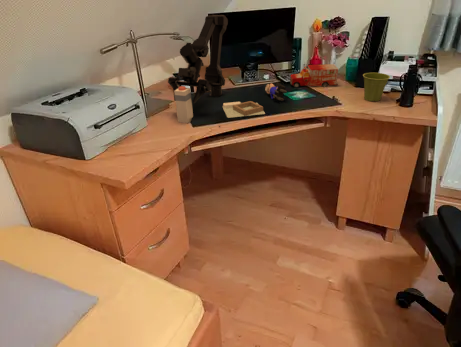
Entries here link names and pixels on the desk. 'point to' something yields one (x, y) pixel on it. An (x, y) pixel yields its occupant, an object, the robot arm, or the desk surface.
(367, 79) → the plant pot
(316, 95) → the desk surface
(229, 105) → the plate
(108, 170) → the desk surface
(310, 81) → the red toy bus
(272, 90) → the character figurine
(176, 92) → the tapered square pillar
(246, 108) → the jig
